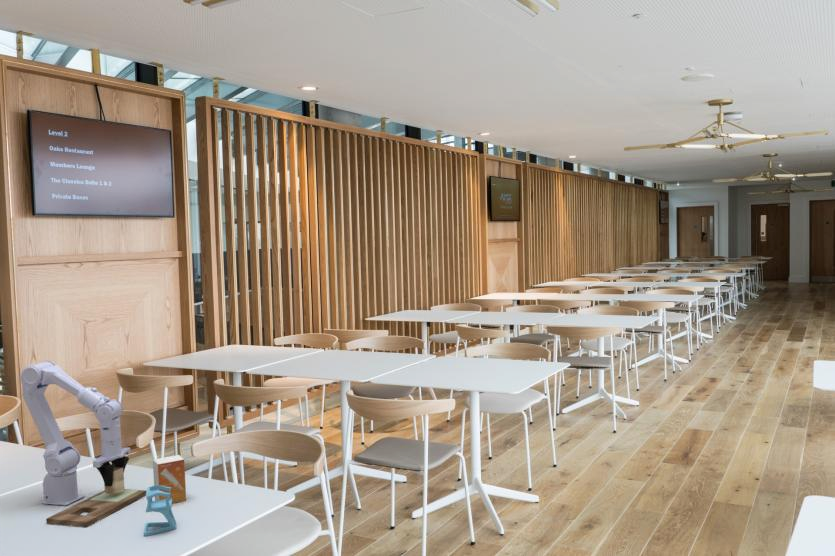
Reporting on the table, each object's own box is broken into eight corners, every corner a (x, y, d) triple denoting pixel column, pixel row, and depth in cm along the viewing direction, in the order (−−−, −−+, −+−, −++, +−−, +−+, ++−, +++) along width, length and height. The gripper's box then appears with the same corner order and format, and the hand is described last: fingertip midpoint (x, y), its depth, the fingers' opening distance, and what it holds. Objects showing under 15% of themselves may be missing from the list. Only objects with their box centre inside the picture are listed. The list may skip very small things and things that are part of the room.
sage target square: (89, 500, 219) (89, 499, 219) (112, 489, 229) (112, 488, 229) (117, 502, 217) (117, 501, 217) (138, 491, 226) (138, 490, 226)
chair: (175, 532, 196) (173, 488, 195) (143, 536, 193) (141, 492, 193) (176, 522, 203) (175, 480, 203) (145, 526, 201) (143, 483, 200)
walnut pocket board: (46, 523, 206) (46, 518, 206) (109, 492, 231) (109, 488, 231) (86, 527, 202) (86, 522, 202) (146, 495, 227) (146, 490, 227)
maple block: (104, 493, 221) (103, 471, 221) (113, 489, 225) (112, 467, 225) (115, 494, 220) (114, 471, 220) (124, 489, 224) (123, 467, 224)
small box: (159, 506, 216) (157, 464, 215) (154, 501, 221) (152, 459, 220) (187, 500, 220) (184, 458, 220) (181, 495, 225) (178, 454, 225)
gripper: (105, 447, 214) (108, 492, 214) (137, 434, 228) (140, 476, 228) (86, 446, 216) (88, 490, 216) (118, 433, 230) (121, 475, 230)
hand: (113, 483), depth 223 cm, fingers closed on maple block, 4 cm apart
